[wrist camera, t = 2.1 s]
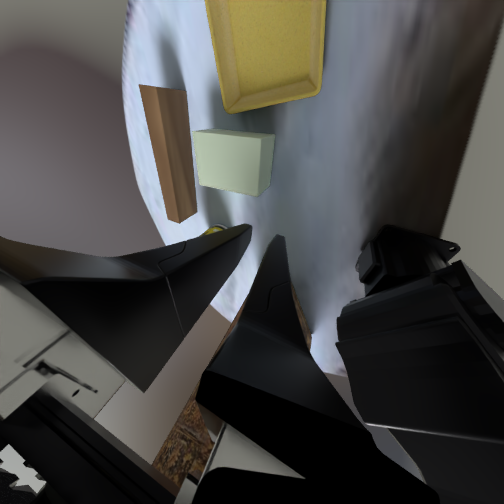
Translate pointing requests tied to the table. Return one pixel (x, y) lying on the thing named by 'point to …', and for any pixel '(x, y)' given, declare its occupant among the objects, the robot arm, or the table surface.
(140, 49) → the table surface
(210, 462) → the robot arm
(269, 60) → the yellow tray
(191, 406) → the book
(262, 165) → the block
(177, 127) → the board
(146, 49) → the table surface
